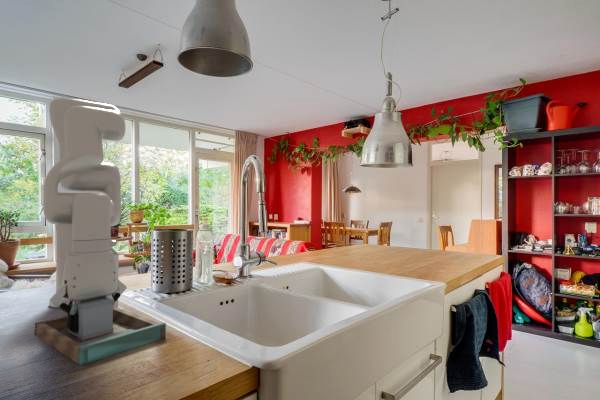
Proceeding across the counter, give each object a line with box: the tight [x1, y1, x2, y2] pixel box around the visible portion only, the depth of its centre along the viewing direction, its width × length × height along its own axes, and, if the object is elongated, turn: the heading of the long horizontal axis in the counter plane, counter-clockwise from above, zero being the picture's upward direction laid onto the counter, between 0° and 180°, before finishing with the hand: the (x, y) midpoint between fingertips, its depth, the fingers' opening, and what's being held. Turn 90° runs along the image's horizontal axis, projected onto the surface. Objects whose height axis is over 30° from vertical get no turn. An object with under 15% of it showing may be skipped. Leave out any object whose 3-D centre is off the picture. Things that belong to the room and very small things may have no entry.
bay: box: [34, 306, 167, 366], centre depth 75 cm, size 25×16×3 cm, turn 53°
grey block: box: [67, 297, 114, 341], centre depth 77 cm, size 8×6×7 cm
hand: (90, 326), depth 77 cm, fingers closed on grey block, 6 cm apart
